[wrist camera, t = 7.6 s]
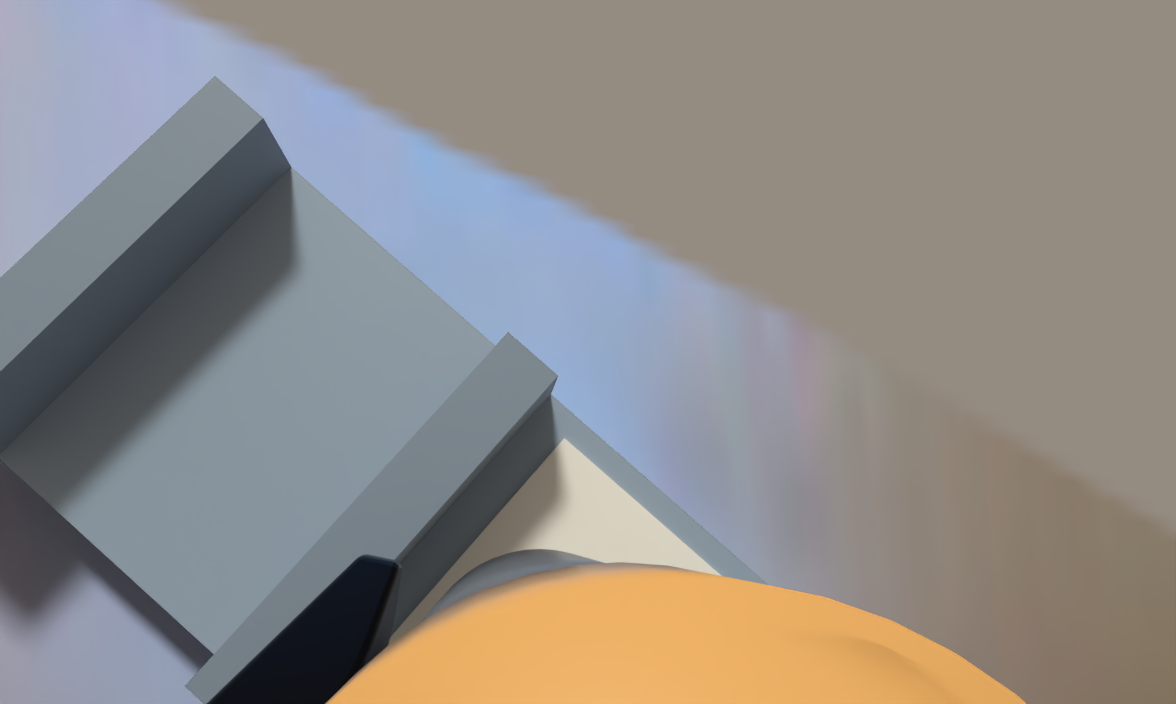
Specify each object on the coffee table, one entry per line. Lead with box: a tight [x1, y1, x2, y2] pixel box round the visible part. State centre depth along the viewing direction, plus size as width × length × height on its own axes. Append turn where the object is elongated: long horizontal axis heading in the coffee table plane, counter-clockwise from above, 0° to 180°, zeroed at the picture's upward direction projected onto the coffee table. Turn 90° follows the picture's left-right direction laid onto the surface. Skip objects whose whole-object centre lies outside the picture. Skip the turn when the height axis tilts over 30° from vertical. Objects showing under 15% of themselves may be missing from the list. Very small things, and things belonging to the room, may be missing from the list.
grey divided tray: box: [0, 77, 768, 704], centre depth 19 cm, size 8×23×4 cm, turn 49°
